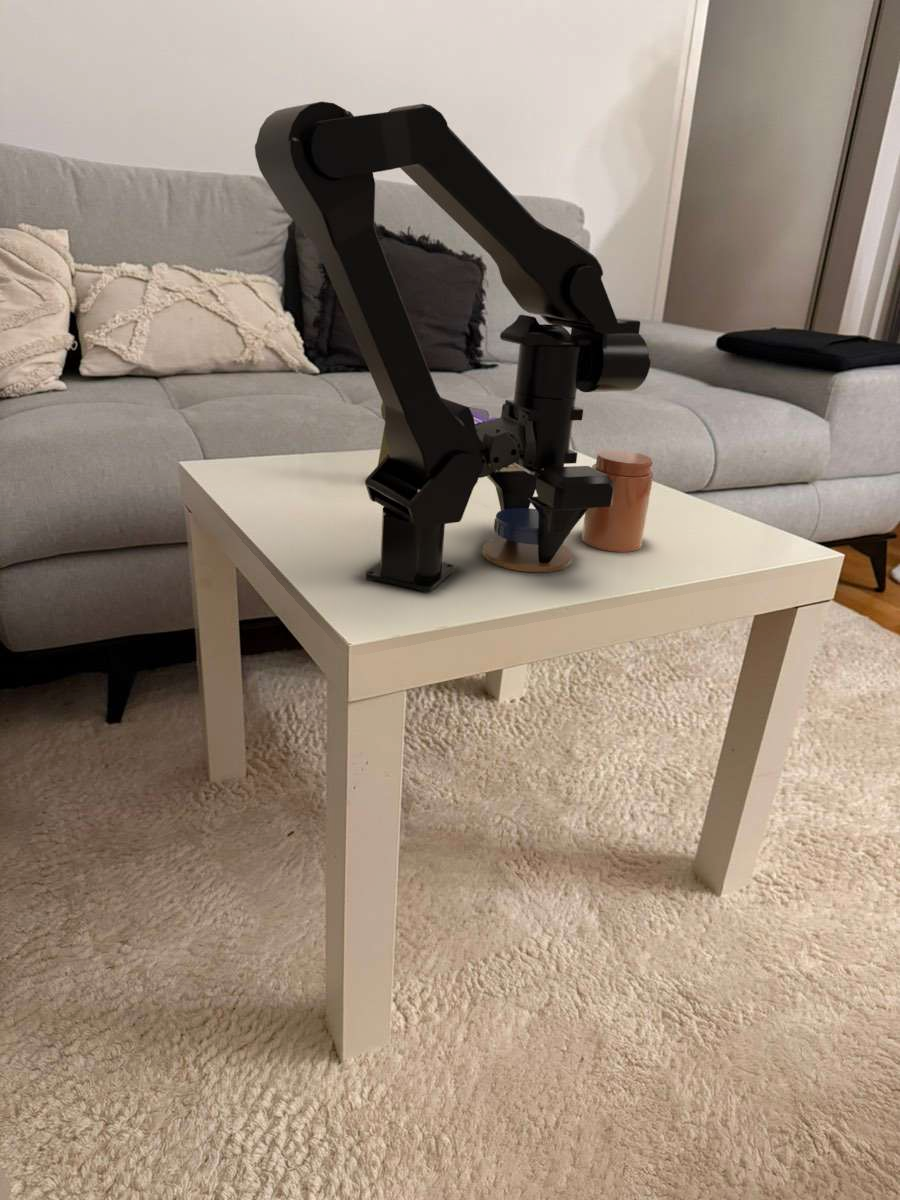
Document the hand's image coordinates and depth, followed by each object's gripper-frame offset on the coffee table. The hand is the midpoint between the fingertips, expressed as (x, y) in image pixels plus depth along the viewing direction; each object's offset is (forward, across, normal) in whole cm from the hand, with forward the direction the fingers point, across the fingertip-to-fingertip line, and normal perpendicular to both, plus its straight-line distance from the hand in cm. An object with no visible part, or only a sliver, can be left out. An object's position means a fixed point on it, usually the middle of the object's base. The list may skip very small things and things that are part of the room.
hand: (527, 550), depth 86 cm
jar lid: (-3, 0, 0) cm, 3 cm away
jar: (+1, -2, +12) cm, 12 cm away
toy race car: (+1, -36, +15) cm, 39 cm away
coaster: (+1, 0, 0) cm, 1 cm away
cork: (+1, -28, -4) cm, 28 cm away
